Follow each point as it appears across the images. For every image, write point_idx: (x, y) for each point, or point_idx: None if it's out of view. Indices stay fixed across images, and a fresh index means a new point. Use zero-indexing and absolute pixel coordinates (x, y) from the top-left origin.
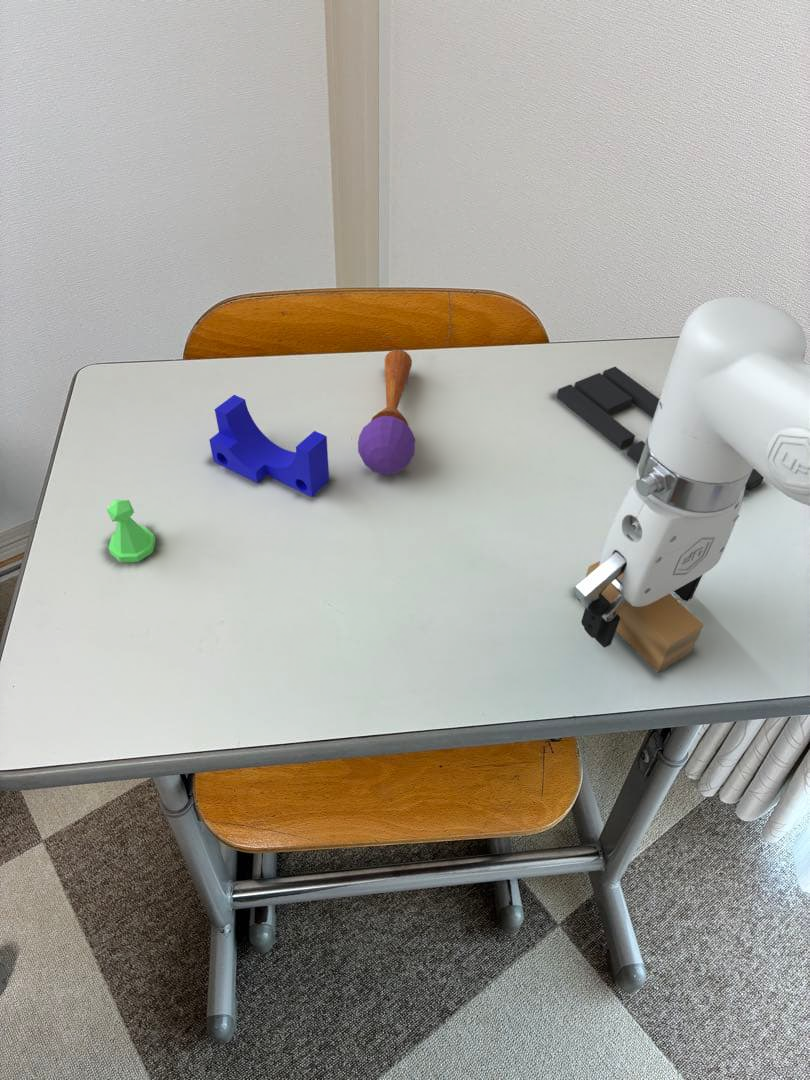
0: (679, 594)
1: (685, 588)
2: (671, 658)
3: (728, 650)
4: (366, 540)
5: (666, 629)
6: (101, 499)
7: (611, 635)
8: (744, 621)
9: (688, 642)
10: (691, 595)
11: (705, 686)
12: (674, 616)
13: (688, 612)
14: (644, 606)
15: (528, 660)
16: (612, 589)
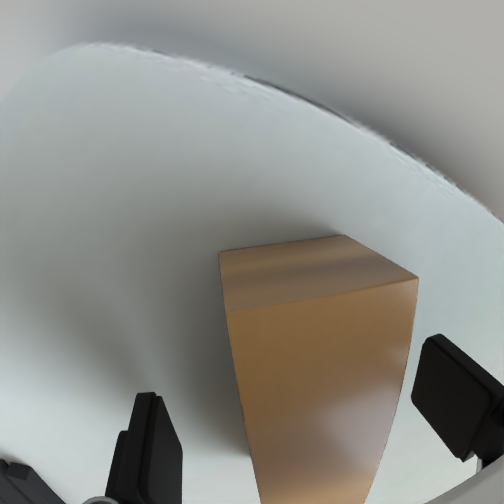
0: (165, 413)
1: (159, 434)
2: (323, 249)
3: (110, 214)
4: (447, 485)
5: (379, 341)
6: None
7: (465, 356)
8: (27, 275)
9: (277, 272)
10: (142, 406)
11: (256, 139)
12: (308, 381)
13: (245, 382)
14: (361, 426)
15: (482, 342)
16: (376, 467)
